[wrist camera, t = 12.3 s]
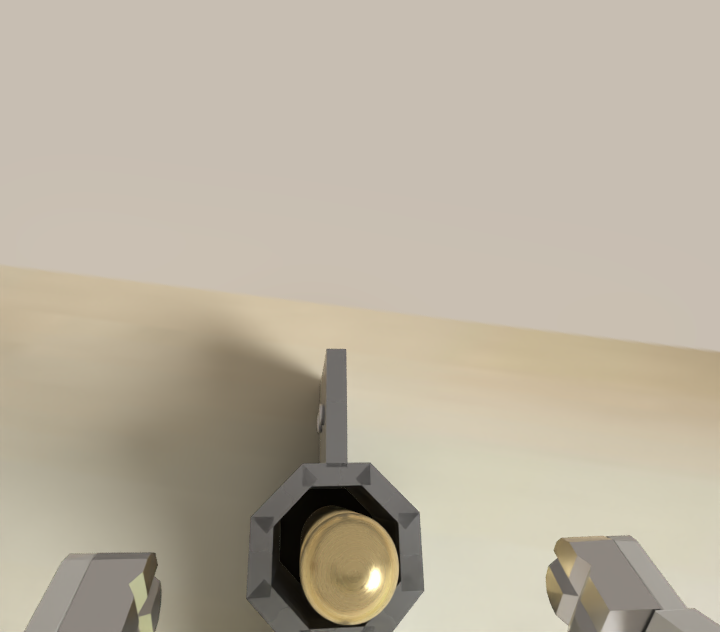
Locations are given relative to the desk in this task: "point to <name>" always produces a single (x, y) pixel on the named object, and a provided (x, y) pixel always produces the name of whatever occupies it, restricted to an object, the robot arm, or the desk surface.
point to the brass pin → (347, 565)
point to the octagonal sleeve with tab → (368, 486)
